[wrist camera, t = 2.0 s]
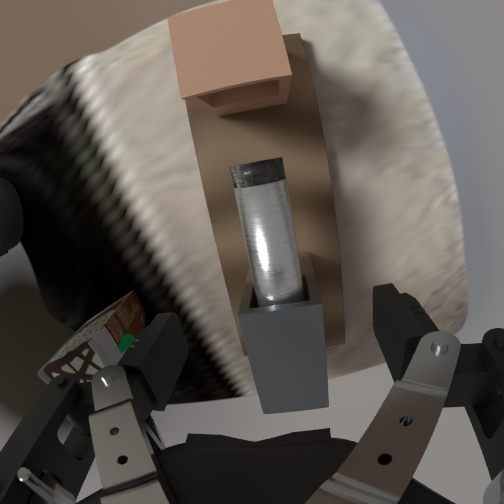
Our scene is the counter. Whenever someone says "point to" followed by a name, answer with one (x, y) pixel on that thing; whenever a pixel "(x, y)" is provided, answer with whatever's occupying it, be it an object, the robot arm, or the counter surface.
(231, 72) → the socket
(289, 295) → the tube
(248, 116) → the dock
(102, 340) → the food container
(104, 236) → the counter surface
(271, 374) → the sleeve
